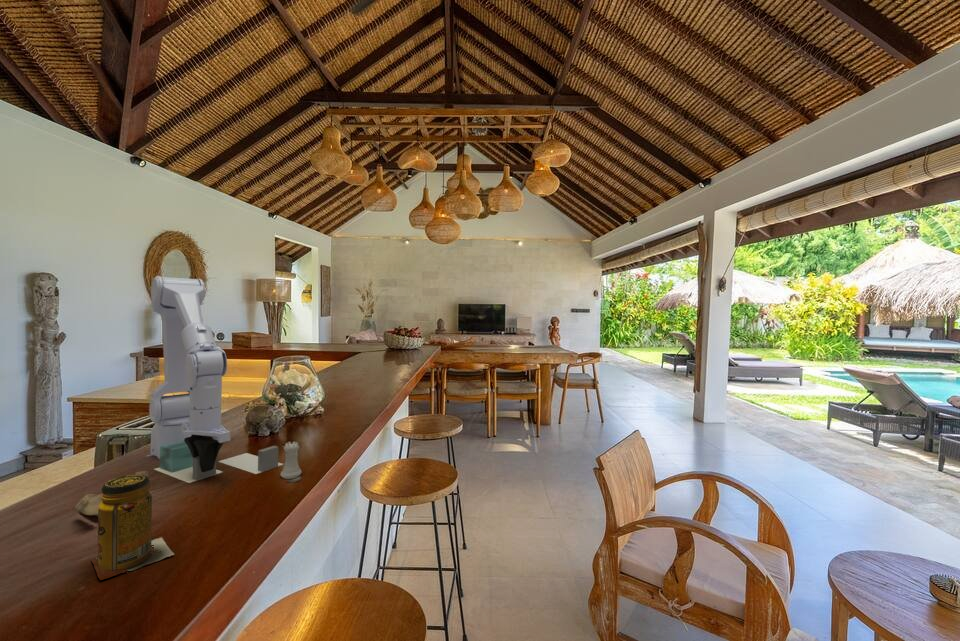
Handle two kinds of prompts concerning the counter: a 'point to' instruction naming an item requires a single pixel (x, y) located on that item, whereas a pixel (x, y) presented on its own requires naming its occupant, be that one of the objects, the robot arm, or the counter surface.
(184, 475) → the cream strip
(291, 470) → the rook chess piece
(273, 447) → the cream and grey bookend
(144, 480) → the condiment
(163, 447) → the teal block
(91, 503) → the seashell
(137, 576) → the counter surface
